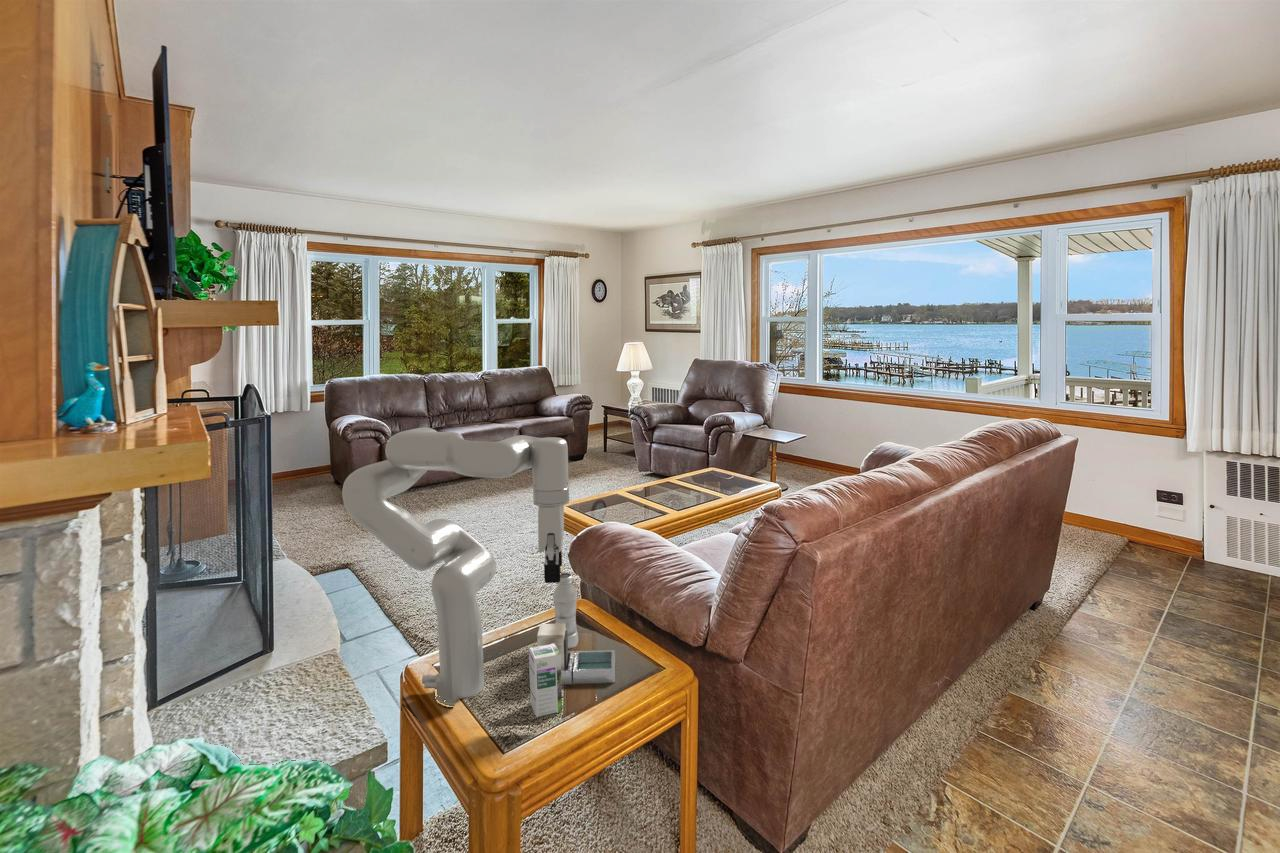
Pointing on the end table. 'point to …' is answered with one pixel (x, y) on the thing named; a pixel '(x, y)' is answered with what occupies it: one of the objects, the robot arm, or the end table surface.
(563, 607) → the plastic bottle
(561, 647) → the beige curved-top block
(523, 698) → the end table surface
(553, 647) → the syrup box
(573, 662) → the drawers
